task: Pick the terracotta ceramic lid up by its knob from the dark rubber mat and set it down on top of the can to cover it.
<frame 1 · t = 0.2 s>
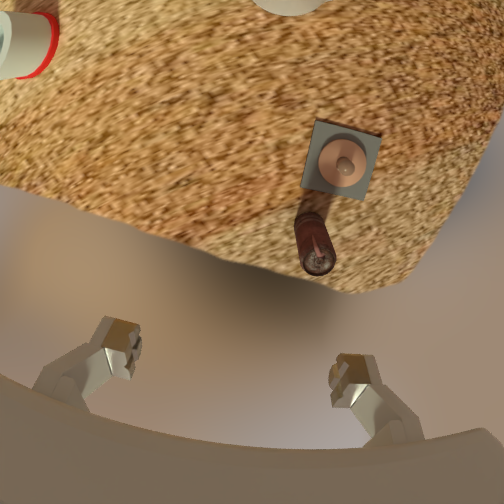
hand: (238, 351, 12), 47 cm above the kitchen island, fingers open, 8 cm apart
lid: (341, 162, 53), point 1 cm above the kitchen island, touching mat
can: (308, 223, 61), on the kitchen island
mat: (341, 161, 54), on the kitchen island
container: (33, 45, 40), on the kitchen island
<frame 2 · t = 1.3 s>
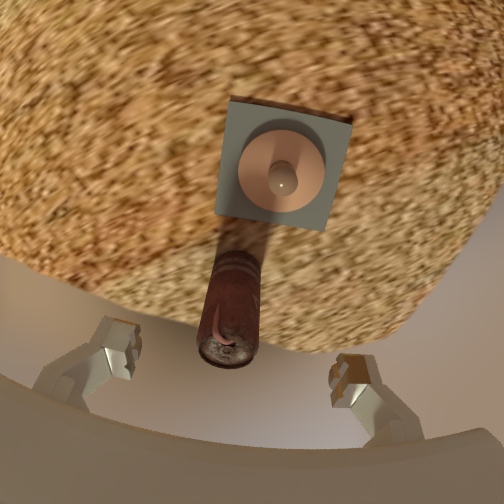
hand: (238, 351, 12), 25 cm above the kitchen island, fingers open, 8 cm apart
lid: (281, 169, 32), point 1 cm above the kitchen island, touching mat
can: (236, 267, 40), on the kitchen island
mat: (280, 168, 32), on the kitchen island
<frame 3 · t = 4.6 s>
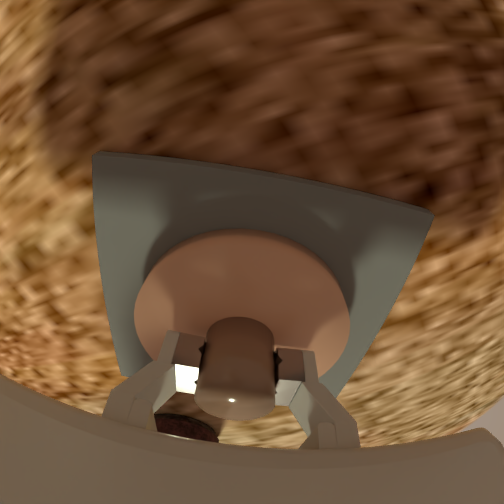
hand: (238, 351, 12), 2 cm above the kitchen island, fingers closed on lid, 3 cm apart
lid: (241, 321, 13), point 1 cm above the kitchen island, touching gripper, mat
can: (180, 427, 21), on the kitchen island
mat: (243, 312, 14), on the kitchen island
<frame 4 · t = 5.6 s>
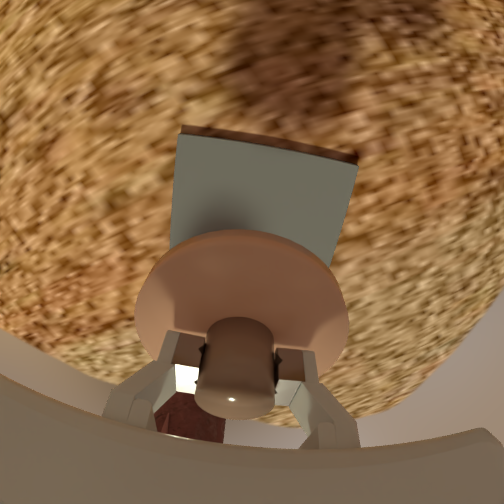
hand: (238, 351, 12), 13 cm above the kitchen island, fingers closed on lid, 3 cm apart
lid: (241, 321, 13), point 12 cm above the kitchen island, touching gripper
can: (203, 345, 31), on the kitchen island
mat: (254, 228, 24), on the kitchen island
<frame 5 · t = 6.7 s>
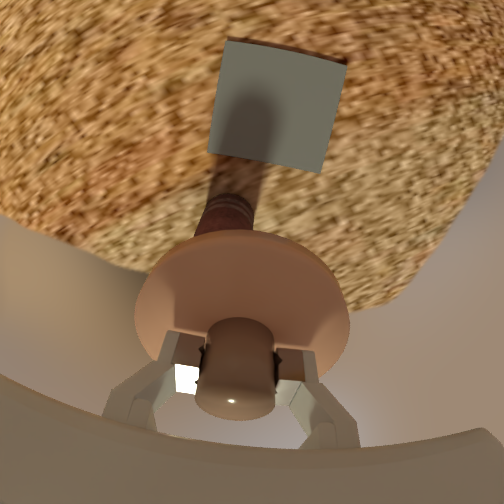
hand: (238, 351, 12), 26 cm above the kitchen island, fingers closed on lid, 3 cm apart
lid: (242, 321, 13), point 25 cm above the kitchen island, touching gripper
can: (228, 213, 38), on the kitchen island
mat: (275, 106, 30), on the kitchen island
when the fingers open (18 cm above the kitchen island, at t = 9.2 s): lid drops 2 cm, resting on can.
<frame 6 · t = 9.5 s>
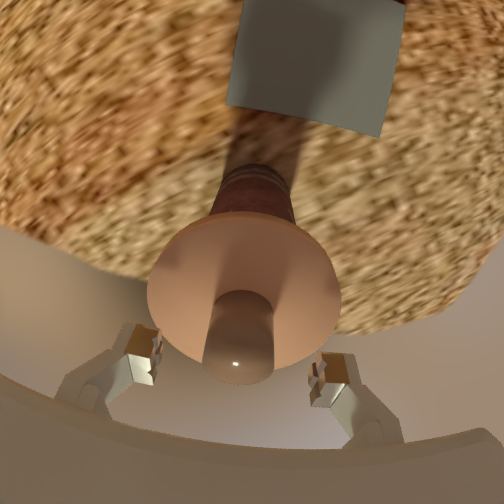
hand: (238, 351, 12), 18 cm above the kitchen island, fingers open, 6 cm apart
lid: (244, 297, 15), point 14 cm above the kitchen island, touching can
can: (253, 193, 27), on the kitchen island, touching lid
mat: (319, 45, 20), on the kitchen island
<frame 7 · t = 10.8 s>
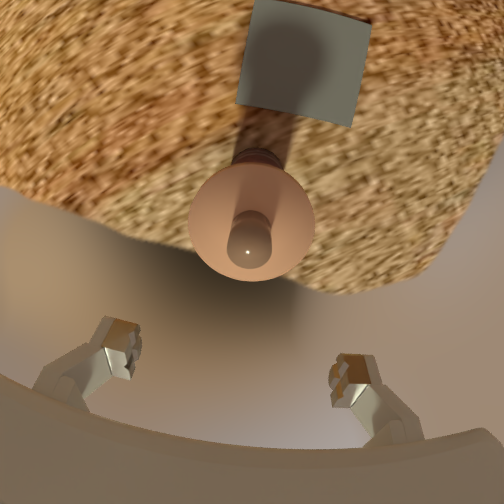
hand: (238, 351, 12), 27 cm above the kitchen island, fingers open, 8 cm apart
lid: (251, 221, 23), point 14 cm above the kitchen island, touching can
can: (255, 170, 35), on the kitchen island, touching lid
mat: (304, 59, 28), on the kitchen island
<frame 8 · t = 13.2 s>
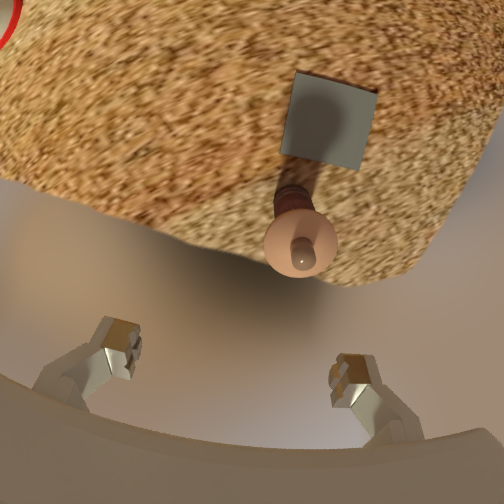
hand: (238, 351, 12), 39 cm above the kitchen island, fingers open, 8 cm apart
lid: (300, 242, 38), point 14 cm above the kitchen island, touching can
can: (291, 199, 50), on the kitchen island, touching lid
mat: (329, 122, 43), on the kitchen island
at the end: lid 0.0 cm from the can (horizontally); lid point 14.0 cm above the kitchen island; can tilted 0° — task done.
